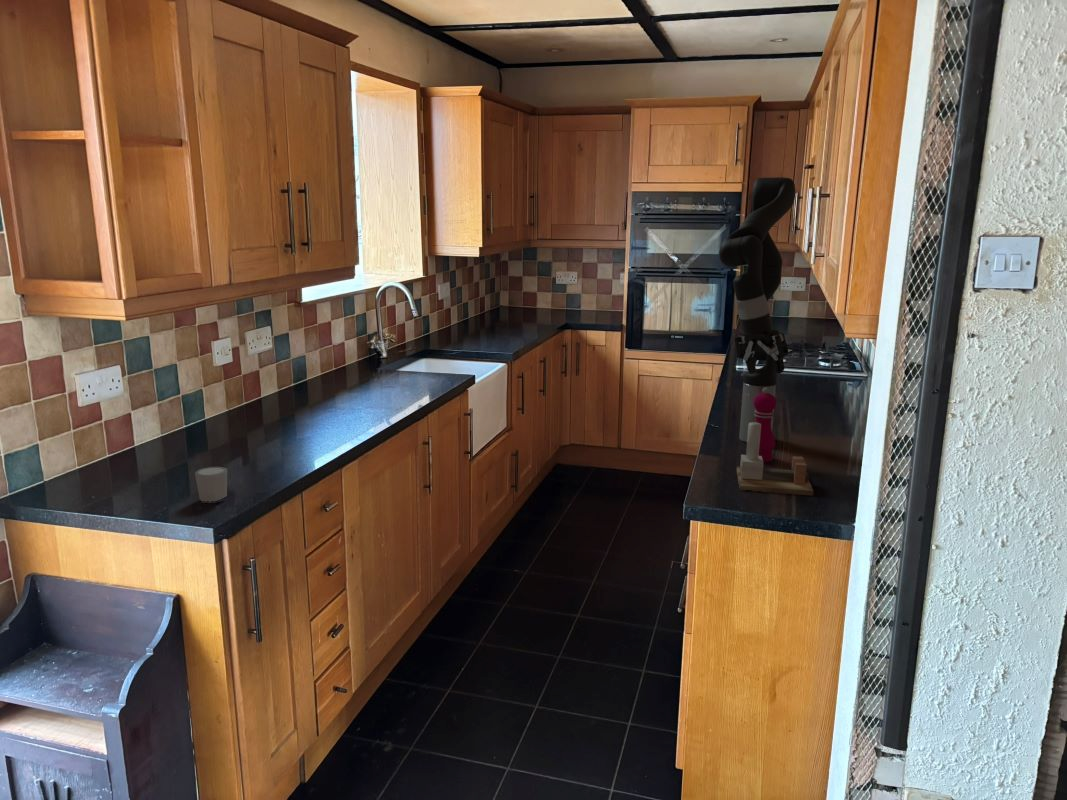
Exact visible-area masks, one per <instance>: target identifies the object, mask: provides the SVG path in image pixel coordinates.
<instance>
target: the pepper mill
mask: <svg viewBox="0 0 1067 800" xmlns="http://www.w3.org/2000/svg"><path fill="white" fill-rule="evenodd" d="M762 391H763V393H760V394H758V395H757V396H756V397H755V398H754V401H753V404H754V407H755V408H756V410H755V414H754V415H755V416H756V422H757V423H760V424H761V433H760V445H759V456H762V459H763V463H768V462H769V463H770V462H772V460H773V453H772V451H773V450H774V449H775V448H776V440H775V436H774V433H773V429H772V430H771V419H772V417H773V418H774V414H775V413H774V412H773V409H774V410H775V409H776V407H777V398H776V396H775V397H774V396H773V395H771V394H769V389H768V388H764V389H763V390H762ZM773 413H774V414H773Z"/></svg>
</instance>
